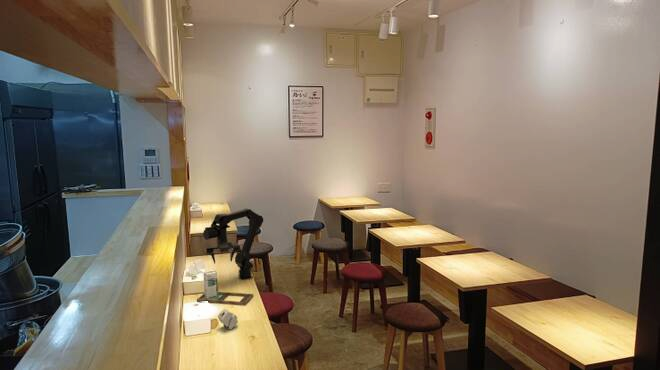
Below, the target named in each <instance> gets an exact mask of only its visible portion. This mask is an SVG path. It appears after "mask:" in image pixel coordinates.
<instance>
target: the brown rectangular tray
mask: <svg viewBox="0 0 660 370" xmlns="http://www.w3.org/2000/svg"><path fill="white" fill-rule="evenodd" d="M229 296H231V297H243V298H242V299H241V300H239V301H237V300H236V301H235V300H225V299H226V298H228V297H229ZM254 297H255V296H254V293H245V292H242V293H241V292H230V291H218V298H216V299H206V298H205V292H204V293H203V294H201V295H200V296H199V297H197V298H196V302H197V303H201V302H200V301H208V302H209V303H208V304H219V305H220V304H221V305H235V306H246V305H248V304H249V302H250V301H251V300H252V299H253V298H254Z"/></svg>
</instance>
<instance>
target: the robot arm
mask: <svg viewBox="0 0 660 370" xmlns="http://www.w3.org/2000/svg"><path fill="white" fill-rule="evenodd" d="M242 218H247V219H248V227H249V228H248V231H247V234H246V236H245V239H244V242H243V245H242V248H241V250H240V244H238V243H237V242H235V243H233V242H232V241H231V242H230V241H229V242H228V230H227V229H229V228H231V226H230V225H229V224H230V223H231V222H232V221H235V220H239V219H242ZM263 223H264V217H263V215H259V214H258V213H256V212H255V211H253V210H252V209H249V208H244V209H241V210H237V211H234V212H230V213H217V214H216V215H215V216H214V218H213V221H212V223H211V224H210V226H209V227H208V226H206V227H204V230H203V233H202V235H203V238H204V240H213V239H216V246H212V245H208V246H205V247H204V252H205V254H208V255H209V256H211V259H212V261H213V263H214V265H215V264H216V259H215V252H214V251H219V252H220V253H229V252H230V253H229V255H230V256H229V257H230V258H229V259H230V263H231V262H232V261H233V258H234V263H235V264H236V265H237V267H238V268H239V269H238V277H239V279H241V280H247V279H248V280H249V279H252V278H253V276H252V269H253V267H254V264H253V263H252V262H251V261H250V260H251V256H250V252H251V250H252V246H253V244H254V241H255V238H256V234H257V232H258V230H259V229H260V227H262V225H263ZM239 250H240V251H239ZM238 251H239V252H238ZM235 253H236V254H235ZM234 255H235V257H234Z"/></svg>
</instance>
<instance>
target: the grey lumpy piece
mask: <svg viewBox="0 0 660 370" xmlns="http://www.w3.org/2000/svg"><path fill="white" fill-rule="evenodd" d="M217 318H218V321H219V322H220V323H221V324H222V325H223V326H224V327H225V328H226V327H227V330H229V329H231V330H232V329H234V328H235V327H234V326H236V325H237V324H238V323H239V320H238V316H237V315H236V314H235V313H233V312H231V311H229V310H228V309H226V308H224V309H222V310H221V311H220V312H219V313H218V314H217ZM233 327H234V328H233Z"/></svg>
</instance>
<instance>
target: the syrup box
mask: <svg viewBox="0 0 660 370" xmlns="http://www.w3.org/2000/svg"><path fill="white" fill-rule="evenodd" d="M202 273H203V274H202V275H203V286H204V287H203V288H204V293H205V298H206V299H216V298H218V292H219V289H218V288H219V283H218V271H216V269H210V270H205V271H203V272H202Z"/></svg>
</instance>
